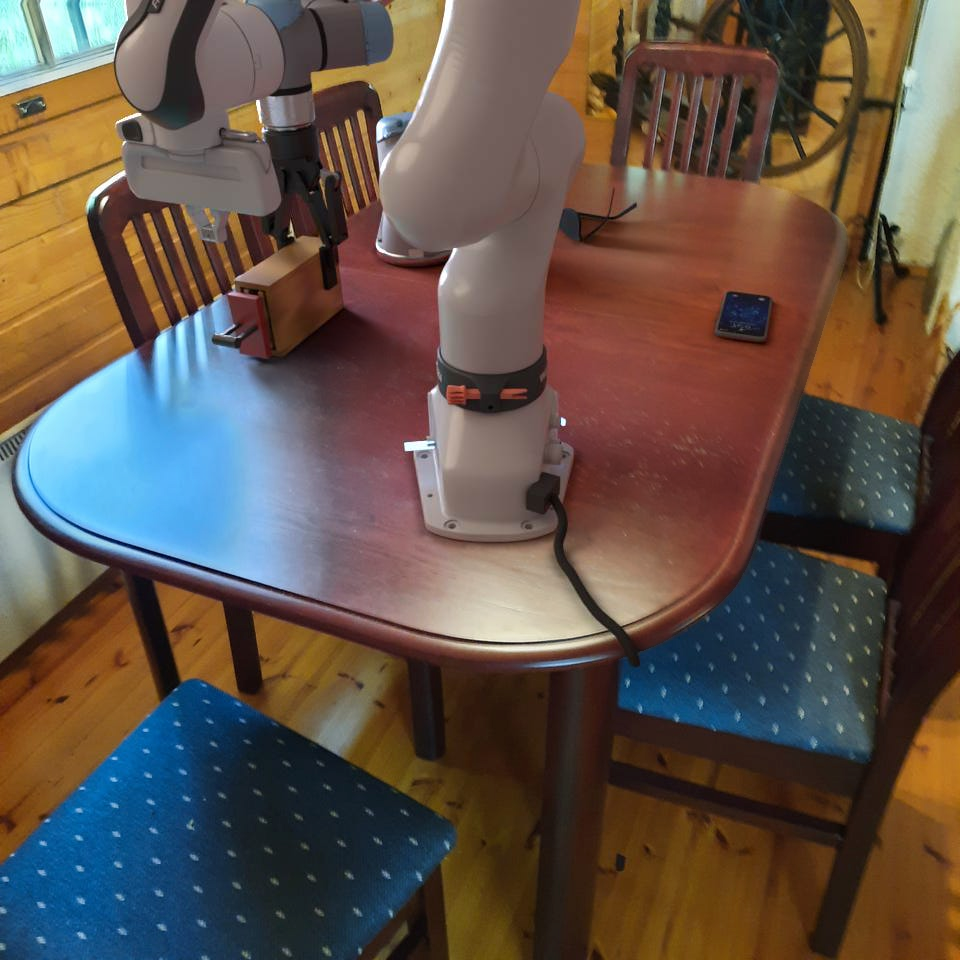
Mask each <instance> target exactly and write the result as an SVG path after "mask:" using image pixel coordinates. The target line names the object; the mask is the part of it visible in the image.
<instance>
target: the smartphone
mask: <svg viewBox="0 0 960 960" xmlns="http://www.w3.org/2000/svg"><path fill="white" fill-rule="evenodd" d="M773 302H774V301H773V298H772V297H771V296H769V295H763V294H756V293H749V292H743V291H734V290H729V291H726V292H725V293H724V295H723V299H722V301H721V306H720V310H719V312H718V317H717V319H716V322H715V328H714V334H715V335H716V336H717V337H718V338H719V337H720V338H725V339H732V340H739V341H747V342H754V343H764V342H765V341H767V338H768V333H769V328H770V318H771V313H772V307H773Z"/></svg>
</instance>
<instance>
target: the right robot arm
mask: <svg viewBox="0 0 960 960" xmlns="http://www.w3.org/2000/svg"><path fill="white" fill-rule="evenodd" d="M243 2H244V1H240V0H124V11H125V17H126V21H125V22H124V23H123V25H122V26H121V28H120V30H119V33H118V35H117V38H116V42H115V46H114V53H113V71H114V72H113V73H114V77H115V81H116V83H117V84H116V85H117V86H118V90H119V91H120V94H121V95H122V97H124V99H125V101H126V102H127V103H128V104H129V105H130V106H131V107H132V109H134V110H135V111H136V113H134V114H133V115H130V116H127V117H124V118H123V119H121V120H119V121H117V122H116V123H115V124H114V125H115V131H116V134H117V137H118V139H119V140H121V141H123V143H122V144H121V148H120V151H121V159H122V164H123V169H124V173H125V176H126V180H127V184H128V187H129V189H130V190H131V192H132V193H133V194H134V195H135V197H137V198H138V199H142V200H148V201H154V202H155V201H156V202H161V203H170V204H174V205H182V206H184V208H185V212H186V213H185V214H186V215H187V216H188V217H189V219H190V220H191V222H192V223H193V224H194V226H195V227H196V228H197V232H198V236H199V239H200V240H201V241H207V242H213V243H218V244H222V243H224V242H225V241H227V240H228V233H227V232H228V231H227V228H226V227H227V225H228V221H229V218H230V215H231V213H236V214H241V215H242V214H243V215H249V216H250V215H251V216H256V217H261V216H266V215H268V214H270V213H272V212H273V211H275V210H276V209H277V208H278V207H279V205H280V203H281V194H280V189H279V185H278V181H277V177H276V173H275V170H274V167H273V164H272V161H271V155H270V149H269V146H268V144H267V143H265V141H264V140H263V138H261V137H260V136H258V133H256V132H255V131H250V130H246V131H242V130H238V129H232V128H231V124H230V118H229V112H228V111H231V110H234V109H237V108H240V107H242V106H245V105H249V104H252V103H255V102H257V101H258V100H261V99H263V98H266V97H267V96H269V95H270V94H273V93H275V92H276V91H277V90H278V89H279V88H280V86H281V84H282V82H283V79H284V75H285V70H286V54H285V48H284V44H283V40H282V37H281V35H280V33H279V30H278V29H277V27H276V25H275V24H274V22H273V21H272V19H271V18H270V17H269V16H268V15H267V14H266V13H265V12H264V11H263V10H261V9H260V8H259V7H257V6H255V5H253V4H245V3H243ZM581 3H582V0H445V5H444V14H443V20H442V25H441V29H440V32H439V38H438V41H437V45H436V48H435V52H434V54H433V58H432V61H431V64H430V66H429V69H428V73H427V75H426V78H425V82H424V84H423V87H422V90H421V93H420V95H419V98H418V100H417V103H416V106H415V108H414V111H413V112H414V113H413V115H412V117H411V120H410V122H409V124H408V126H407V128H406V129H405V131H404V133H403V134H402V136H401V138H400V139H399V141H398V142H397V144H396V145H395V146H394V148H393V149H392V150H391V152H390V153H389V154H388V155H387V157H386V159H385V160H384V162H383V165H382V167H381V171H380V170H379V177H378V194H379V198H380V199H379V200H380V204H381V208H382V211H383V210H384V213H385V215H386V217H387V219H388V221H389V223H390V224H391V226H392V227H393V229H394V230H395V231H396V233H397V234H398V235H399V236H400V237H401V238H402V239H403V240H404V241H406V242H407V243H408V244H410V245H411V246H413V247H415V248H417V249H419V250H422V251H427V252H440V251H445V250H451V249H453V250H452V253H451V255H450V258H449V260H448V261H447V262H445V265H444V266H443V268H442V271H441V274H440V277H439V280H438V285H437V307H438V324H439V326H438V327H439V340H440V341H439V342H440V345H439V346H438V348H437V354H436V356H437V358H436V363H435V364H436V376H437V384H436V385H435V387H434V386H433V388H432V389H431V390H430V391H428V392H427V406H428V407H427V409H428V424H429V435H426V436H425V438H424V440H423V441H421V440H420V441H410V442H404V451H405V452H409V451H413V454H412V455H413V457H412V458H413V464H414V470H415V475H416V476H415V477H416V480H417V487H418V492H419V498H420V499H419V500H420V503H421V504H420V505H421V510H422V516H423V522H424V526H425V529H426V530H427V531H428V532H429V533H432V534H434V535H437V536H440V537H443V538H448V539H452V540H457V541H466V542H477V543H478V542H480V543H500V542H501V543H502V542H503V543H506V542H518V541H527V540H531V539H536V538H539V537H543V536H546V535H548V534H550V533H552V532H554V531H556V533H555V536H554V539H553V553H554V556H555V559H556V561H557V563H558V565H559V567H560V568H561V570H562V571H563V573H564V574H565V575H566V577H567V579H568V580H569V582H570V584H571V586H572V588H573V589H574V592H576V594H577V596H578V597H579V599H580V600H581V602H582V603H583V605H584V607H585V608H586V609H587V610H588V613H590V614H591V616H592V617H593V618H594V619H595V620H596V621H597V622H598V623H600V624H601V625H602V626H603V627H604V628H605V629H607V631H609V632H610V633H611V634H612V635H613V636H614V637H615V638H616V639H617V641H618V643H620V645H621V647H622V649H623V651H624V653H625V656H626V658H627V661H628V664H629V665H630V666H631V667H633V668H639V667H640V666H641V660H640V657H639V654H638V651H637V648H636V646H635V645H634V643H633V641H632V638H631V637H630V636H629V634H628V633H627V631H626V630H625V629H624V628H623V627H622V626H621V625H620V624H619V623H618V622H617V621H616V620H614V618H613V617H611V616H609V615H608V614H607V613H606V612H605V611H604V610H603V609H602V608H601V607H600V606H599V605H598V604H597V601H595V600H594V598H593V597H592V595H591V594H590V593H589V591H588V589H587V588H586V586H585V585H584V583H583V581H582V579H581V578H580V576H579V574H578V573H577V571H576V570H575V568H574V566H573V565H572V564H571V563H570V561H569V560H568V558H567V556H566V553H565V548H564V546H565V539H566V536H567V533H568V529H569V519H568V514H567V510H566V509H565V506H564V505H563V504H564V500H565V497H566V492H567V488H568V483H569V480H570V476H571V472H572V469H573V468H572V467H573V464H574V459H575V450H574V447H573V446H571V445H570V444H568V443H566V442H563V441H561V439H560V438H558V430H560V429H561V428H562V426H563V427H564V426H566V419H565V418H564V417H562V416H559V392H557V391H556V390H555V389H554V388H553V387H552V386H551V385H550V384H549V383H548V382H547V379H548V367H549V361H548V356H547V355H548V354H547V353H548V351H547V347H546V345H545V344H544V330H545V329H544V326H545V305H546V303H545V302H546V301H545V300H546V287H547V279H548V273H549V268H550V262H551V259H552V255H553V251H554V248H555V243H556V239H557V234H558V231H559V223H560V220H561V216H562V212H563V209H564V208H565V204H566V200H567V197H568V194H569V192H570V189H571V186H572V184H573V182H574V180H575V178H576V176H577V174H578V172H579V170H580V169H581V167H582V164H583V163H584V160H585V155H586V151H587V135H586V130H585V126H584V123H583V121H582V118H581V116H580V114H579V113H578V111H577V110H576V108H575V107H574V106H573V105H572V104H571V103H570V102H569V100H567V99H566V98H565V97H563V96H562V95H560V94H558V93H556V92H554V91H553V92H552V91H549V90H548V89H549V86H550V85H551V83H552V81H553V79H554V77H555V75H556V74H557V72H558V71H559V69H560V67H561V66H562V65H563V64H564V62H565V60H566V58H567V57H568V54H569V53H570V50H571V48H572V46H573V43H574V38H575V34H576V29H577V24H578V20H579V19H578V18H579V13H580V8H581ZM205 209H209V214H210V217H211V218H214V220H213V223H212V222H211V221H210V220H209V218H208V216H207V214H206V212H205V211H204V210H205ZM626 860H627V857H626V856H625V855H623V854H620V853H618V852H616V856H615V865H614V868H615V870H616V871H617V872H623V871H624V870H625V869H626V868H625V867H626Z"/></svg>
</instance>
